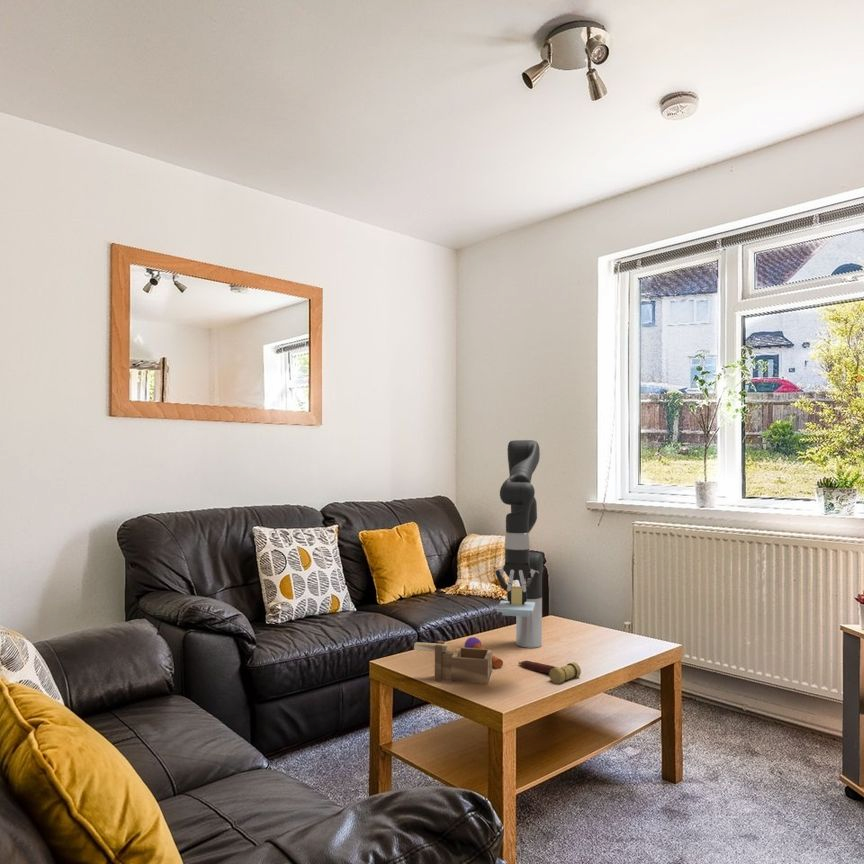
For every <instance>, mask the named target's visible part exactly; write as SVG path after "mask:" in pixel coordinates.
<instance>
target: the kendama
mask: <svg viewBox="0 0 864 864" xmlns="http://www.w3.org/2000/svg"><path fill="white" fill-rule="evenodd" d="M464 647H465V648H480V649H484V646H483V645H482V642H481V640H480V639H479V638H477V637H474V636H473V637H472V636H471V637H468V638H467V639H466V640H465V642H464ZM503 666H504V662H503V659H502V658H499V657H496V656H494V655H492V667H494V668H495V669H496V670H497V669H501V668H503Z"/></svg>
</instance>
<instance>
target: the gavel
mask: <svg viewBox="0 0 864 864" xmlns="http://www.w3.org/2000/svg"><path fill="white" fill-rule="evenodd" d="M518 665H519V666H520V667H522V668H524V669H528V670H531V671H535V672H539V673H543V674H544V673H545V674H548V675H549V679H550V680H551V682H552V683H555V684H562V683H564V682H565V681H568V680H570V679H577V678H579V677H580V676H581V673H582V670H581V667H580V665H579V664H578V663H577V662H575V661H574V662H569V663H566V665H562V666H561V667H559V666H554V665H549V664H546V663H545V664H544V663H541V662H540V663H539V662H535V661H532V660H528V659H527V660H523V661H518Z"/></svg>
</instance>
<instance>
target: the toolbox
mask: <svg viewBox="0 0 864 864" xmlns="http://www.w3.org/2000/svg"><path fill="white" fill-rule="evenodd" d="M439 644H445V641H444V640H437V643H436V644H435V652H434V681H435V682H436V681H437V682H442V681H451V682H456V683H457V682H458V683H466V684H467V683H470V684H481V685H482V684H483V685H488V683H489V682H490V678H491V676H492V673H493V665H492V656H493V649H492V648H483V649H480V648H465V647H463V646H457V648H456V649H455V651H454V650H447V652H442V645H439Z"/></svg>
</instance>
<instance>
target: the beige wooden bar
mask: <svg viewBox="0 0 864 864" xmlns="http://www.w3.org/2000/svg"><path fill="white" fill-rule="evenodd" d="M435 644H437V643H436V642H435V643H433V642H432V643H431V642H420V641H416V642H415V643H414V646H413V650H414V651H421V652H422V651H423V652H434V653H435ZM448 644H449V643H448ZM448 644H447V643H444V644H439V645H442V652H447V651H449V650H448V649H449V648H448Z"/></svg>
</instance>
